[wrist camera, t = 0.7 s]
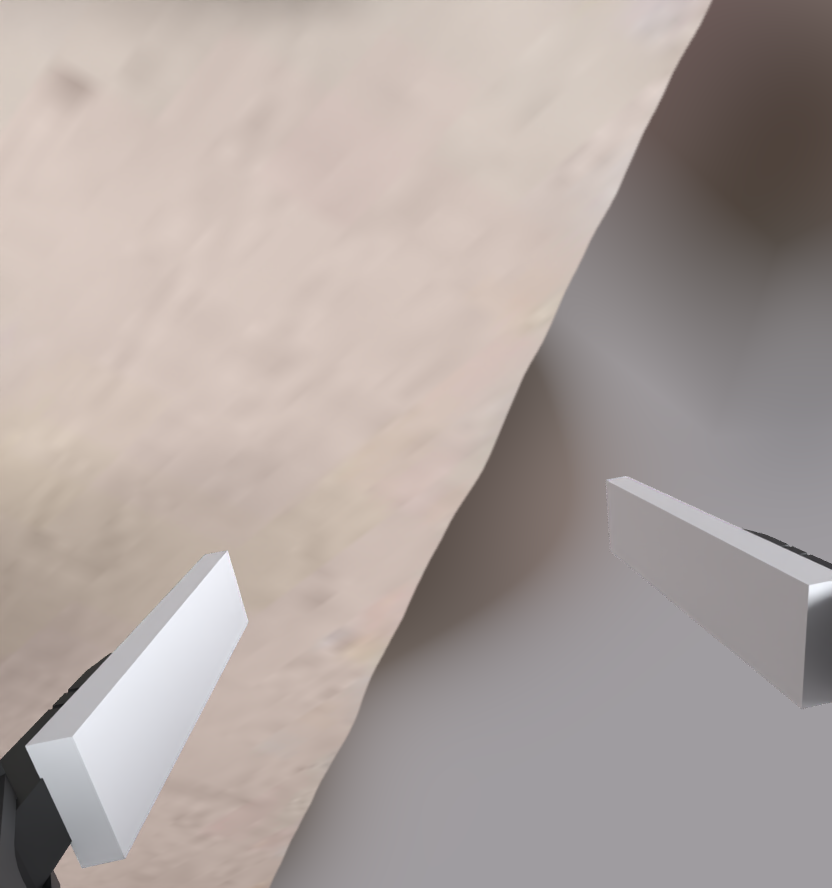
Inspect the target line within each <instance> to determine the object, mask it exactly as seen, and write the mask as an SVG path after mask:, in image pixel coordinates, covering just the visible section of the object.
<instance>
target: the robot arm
mask: <svg viewBox="0 0 832 888" xmlns="http://www.w3.org/2000/svg"><path fill="white" fill-rule="evenodd" d="M606 491H607V507H608V524H609V539H610V540H609V541H610V552H611V553H613V554H614V555H615V556H616V557H618V558H619V559H620V560H621V561H623V562H624V563H625V564H626V565H627V566H629V567H630V568H631V569H632V570H633V571H635V572H636V573H637V574H638V575H639V576H641V577H642V578H643V579H644V580H645V581H647V582H648V583H649V584H650V585H652V586H653V587H654V588H655V589H656V590H658V591H659V592H660V593H661V594H662V595H664V596H665V597H666V598H668V599H669V600H670V601H671V602H672V603H673V604H675V605H676V606H677V607H678V608H680V609H681V610H682V611H683V612H684V613H686V614H687V615H688V616H689V617H690V618H692V619H693V620H694V621H695V622H697V623H698V624H699V625H700V626H701V627H703V628H704V629H705V630H706V631H708V632H709V633H710V634H711V635H712V636H714V637H715V638H716V639H717V640H718V641H720V642H721V643H722V644H723V645H724V646H726V647H727V648H728V649H729V650H731V651H732V652H733V653H734V654H735V655H737V656H738V657H739V658H741V659H742V660H743V661H744V662H745V663H746V664H748V665H749V666H750V667H751V668H753V669H754V670H755V671H756V672H757V673H758V674H760V675H761V676H762V677H763V678H765V679H766V680H767V681H768V682H769V683H771V684H772V685H773V686H774V687H776V688H777V689H778V690H779V691H780V692H782V693H783V694H784V695H785V696H786V697H788V698H789V699H790V700H791V701H793V702H794V703H795V704H796V705H797V706H799V707H800V708H801V709H804V708H808V707H813V706H817V705H822V704H826V703H830V702H832V564H831V563H829V562H826V561H824V560H822V559H820V558H817V557H815V556H813V555H807V553H806V552H804V551H802V550H799V549H797V548H795V547H789V545H788V544H786V543H784V542H781V541H779V540H777V539H775V538H772V537H770V536H768V535H765V534H761V533H757V532H754V531H750V530H746V529H742V528H739V527H737V526H734V525H733V524H730V523H728V522H726V521H724V520H722V519H719V518H717V517H715V516H713V515H711V514H709V513H706V512H704V511H702V510H700V509H698V508H695V507H693V506H691V505H689V504H687V503H685V502H682V501H680V500H678V499H676V498H674V497H671V496H669V495H667V494H665V493H663V492H661V491H658V490H656V489H654V488H652V487H650V486H647V485H645V484H643V483H641V482H638V481H636V480H634V479H632V478H630V477H628V476H624V477H619V478H614V479H608V480H606ZM247 624H248V619H247V615H246V612H245V608H244V605H243V602H242V598H241V595H240V591H239V588H238V584H237V581H236V577H235V574H234V570H233V567H232V564H231V560H230V557H229V553H228V550H227V551H222V552H216V553H211V554H205V555H204V556H203V557H202V558H201V559H200V560H199V561H198V562H197V563H196V564H195V565H194V566H193V567H192V569H191V570H190V571H189V572H188V573H187V574H186V575H185V576H184V577H183V578H182V579H181V580H180V581H179V582H178V583H177V585H176V586H175V587H174V588H173V589H172V590H171V591H170V592H169V593H168V594H167V595H166V596H165V597H164V598H163V599H162V601H161V602H160V603H159V604H158V605H157V606H156V607H155V608H154V609H153V610H152V611H151V612H150V613H149V614H148V615H147V617H146V618H145V619H144V620H143V621H142V622H141V623H140V624H139V625H138V626H137V627H136V628H135V629H134V630H133V631H132V633H131V634H130V635H129V636H128V637H127V638H126V639H125V640H124V641H123V642H122V643H121V644H120V645H119V646H118V647H117V649H116V650H115V651H114V652H113V653H110V654H109V655H107V656H106V657H104V658H103V659H102V660H100V661H99V662H98V663H96V664H95V665H94V666H92V667H91V668H90V669H88V670H87V671H86V672H85V673H84V674H83V675H82V676H81V677H80V678H79V679H78V680H77V681H76V682H75V683H74V684H73V685H72V686H71V687H70V688H69V689H68V693H64V695H63V696H62V697H61V698H60V699H59V700H58V701H57V702H56V703H55V704H54V705H53V708H52V709H51V710H48V711H47V712H46V713H45V714H44V715H43V716H42V717H41V718H40V719H39V720H38V721H37V722H36V723H35V725H34V726H33V727H32V728H31V729H30V730H29V731H28V732H27V733H26V734H25V735H24V736H23V737H22V738H21V739H20V740H19V741H18V742H17V743H16V744H15V745H14V746H13V747H12V748H11V749H10V750H9V751H8V752H7V753H6V754H5V756H4V757H3V758H2V759H1V760H0V888H60V883H59V881H58V879H57V877H56V875H55V873H54V871H53V870H54V868H55V867H56V865H57V863H58V862H59V860H60V859H61V857H62V856H63V854H64V853H65V851H66V850H67V848H68V847H69V845H70V844H71V846H72V848H73V850H74V852H75V854H76V857H77V859H78V861H79V863H80V865H81V867H82V868H86V867H90V866H95V865H99V864H104V863H108V862H113V861H117V860H122V859H125V858H126V856H127V854H128V852H129V850H130V849H131V847H132V845H133V843H134V841H135V839H136V837H137V835H138V833H139V831H140V829H141V827H142V826H143V824H144V822H145V820H146V818H147V816H148V814H149V812H150V810H151V808H152V806H153V804H154V802H155V801H156V799H157V797H158V795H159V793H160V791H161V789H162V787H163V785H164V783H165V781H166V779H167V778H168V776H169V774H170V772H171V770H172V768H173V766H174V764H175V762H176V760H177V758H178V756H179V755H180V753H181V751H182V749H183V747H184V745H185V743H186V741H187V739H188V737H189V735H190V733H191V731H192V730H193V728H194V726H195V724H196V722H197V720H198V718H199V716H200V714H201V712H202V710H203V708H204V707H205V705H206V703H207V701H208V699H209V697H210V695H211V693H212V691H213V689H214V687H215V685H216V684H217V682H218V680H219V678H220V676H221V674H222V672H223V670H224V668H225V666H226V664H227V662H228V660H229V659H230V657H231V655H232V653H233V651H234V649H235V647H236V645H237V643H238V641H239V639H240V637H241V636H242V634H243V632H244V630H245V628H246V626H247Z"/></svg>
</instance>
